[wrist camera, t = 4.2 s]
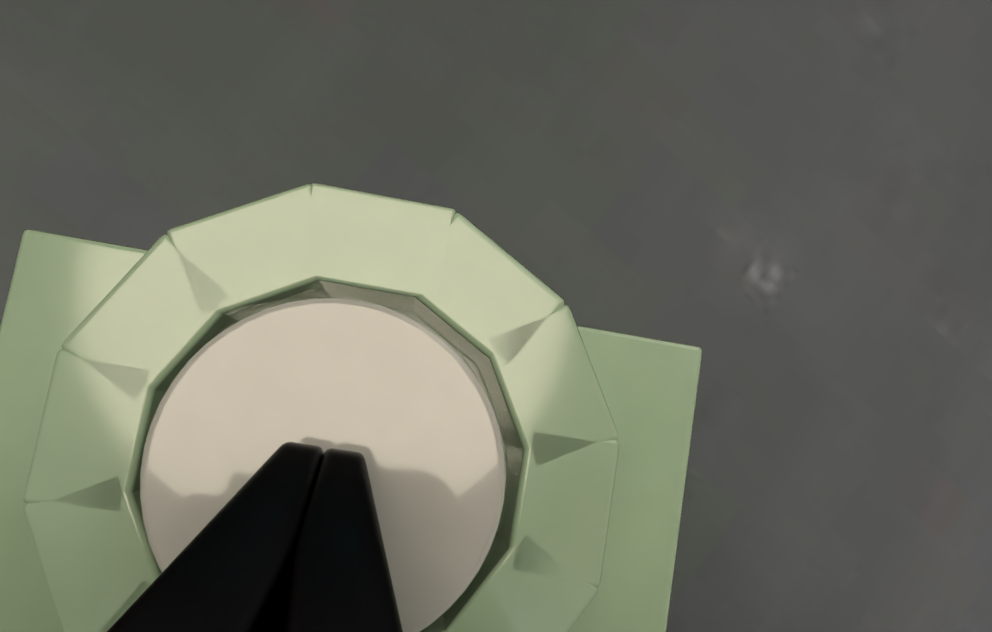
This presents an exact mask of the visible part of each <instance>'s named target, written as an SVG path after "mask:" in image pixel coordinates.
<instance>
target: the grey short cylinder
mask: <svg viewBox="0 0 992 632" xmlns="http://www.w3.org/2000/svg"><path fill="white" fill-rule="evenodd" d="M286 442H297V443H303V444H310V445H316V446H319V447H321V448H322V449H323V451H324V452H325V451H326V450H327V449H329V448H335V449H342V450H348V451H354V452H359V453H361V454H363V456H364V458H365V460H366V464H367V469H368V474H369V478H370V483H371V487H372V492H373V497H374V501H375V506H376V510H377V515H378V520H379V524H380V529H381V533H382V538H383V543H384V547H385V552H386V556H387V561H388V566H389V570H390V575H391V579H392V584H393V588H394V593H395V598H396V602H397V607H398V611H399V616H400V621H401V625H402V630H403V632H421V631H422V630H424V629H425V628H427V627H428V626H430V625H431V624H432V623H433V622H435V621H436V620H437V619H438V618H439V617H440V616H441V615H443V614H444V613H445V612H446V611H447V610H448V609H449V608H450V607H451V606H452V605H453V604H454V603H455V602H456V601H457V600H458V598H459V597H460V596H461V595H462V594H463V593H464V592H465V591H466V589H467V588H468V586H469V585H470V583H471V582H472V580H473V579H474V578H475V576H476V575H477V573H478V572H479V570H480V568H481V566H482V564H483V562H484V561H485V559H486V557H487V555H488V553H489V551H490V549H491V546H492V543H493V541H494V538H495V535H496V532H497V529H498V527H499V523H500V518H501V514H502V509H503V505H504V496H505V485H506V465H505V452H504V446H503V440H502V434H501V431H500V427H499V424H498V421H497V417H496V414H495V411H494V409H493V407H492V404H491V402H490V400H489V398H488V395H487V393H486V391H485V389H484V388H483V386H482V384H481V383H480V381H479V380H478V378H477V376H476V375H475V373H474V371H473V370H472V369H471V368H470V366H469V365H468V364H467V363H466V362H465V360H464V359H463V358H462V357H461V355H460V354H459V353H458V352H457V351H456V350H455V349H454V348H453V347H451V346H450V345H449V344H448V343H447V342H446V341H445V340H444V339H443V338H442V337H440V336H439V335H438V334H436V333H435V332H434V331H432V330H431V329H429V328H428V327H427V326H425V325H424V324H422V323H420V322H418V321H416V320H415V319H413V318H411V317H409V316H407V315H405V314H403V313H401V312H398V311H395V310H393V309H390V308H388V307H385V306H382V305H378V304H374V303H370V302H366V301H362V300H355V299H345V298H310V299H304V300H297V301H290V302H287V303H283V304H279V305H276V306H272V307H269V308H266V309H264V310H261V311H259V312H256V313H254V314H252V315H249V316H247V317H245V318H243V319H241V320H240V321H238V322H236V323H235V324H233V325H231V326H229V327H228V328H226V329H224V330H223V331H222V332H220V333H219V334H218V335H216V336H215V337H214V338H212V339H211V340H210V341H209V342H207V343H206V344H205V345H204V346H203V347H202V348H201V349H200V350H199V351H198V352H197V353H196V354H195V355H194V356H193V357H192V358H191V359H190V360H189V361H188V362H187V363H186V364H185V365H184V367H183V368H182V369H181V371H180V372H179V373H178V374H177V376H176V377H175V378H174V380H173V381H172V383H171V384H170V386H169V388H168V389H167V391H166V393H165V394H164V396H163V398H162V399H161V401H160V403H159V406H158V408H157V410H156V413H155V415H154V417H153V419H152V422H151V424H150V428H149V431H148V435H147V438H146V442H145V445H144V450H143V457H142V464H141V470H140V501H141V509H142V517H143V523H144V526H145V530H146V534H147V538H148V541H149V545H150V547H151V550H152V552H153V554H154V557H155V559H156V562H157V564H158V566H159V568H160V570H161V572H163V571H164V570H165V569H166V568H167V567H168V566H169V564H170V563H171V562H172V561H173V560H174V559H175V558H176V557H177V556H178V555H179V554H180V553H181V552H182V551H183V549H184V548H185V547H186V546H187V545H188V544H189V543H190V542H191V541H192V540H193V539H194V538H195V537H196V536H197V535H198V533H199V532H200V531H201V530H202V529H203V528H204V527H205V526H206V525H207V524H208V523H209V522H210V521H211V520H212V518H213V517H214V516H215V515H216V514H217V513H218V512H219V511H220V510H221V509H222V508H223V507H224V506H225V505H226V504H227V502H228V501H229V500H230V499H231V498H232V497H233V496H234V495H235V494H236V493H237V492H238V491H239V490H240V489H241V487H242V486H243V485H244V484H245V483H246V482H247V481H248V480H249V479H250V478H251V477H252V476H253V475H254V474H255V473H256V471H257V470H258V469H259V468H260V467H261V466H262V465H263V464H264V463H265V462H266V461H267V460H268V459H269V458H270V456H271V455H272V454H273V453H274V452H275V451H276V450H277V449H278V448H279V447H280V446H281V445H282V444H284V443H286Z"/></svg>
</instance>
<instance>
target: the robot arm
mask: <svg viewBox="0 0 992 632" xmlns="http://www.w3.org/2000/svg"><path fill="white" fill-rule="evenodd" d="M107 632H403V630H402V625H401V621H400V616H399V611H398V607H397V602H396V598H395V593H394V588H393V584H392V579H391V575H390V570H389V566H388V561H387V556H386V552H385V547H384V543H383V538H382V533H381V529H380V524H379V520H378V515H377V510H376V506H375V501H374V497H373V492H372V487H371V483H370V478H369V474H368V469H367V464H366V460H365V458H364V456H363V454H361V453H359V452H354V451H348V450H342V449H335V448H329V449H327V450H326V451H325V452H324V451H323V449H322V448H321V447H319V446H316V445H310V444H303V443H297V442H286V443H284V444H282V445H281V446H280V447H279V448H278V449H277V450H276V451H275V452H274V453H273V454H272V455H271V456H270V458H269V459H268V460H267V461H266V462H265V463H264V464H263V465H262V466H261V467H260V468H259V469H258V470H257V471H256V473H255V474H254V475H253V476H252V477H251V478H250V479H249V480H248V481H247V482H246V483H245V484H244V485H243V486H242V487H241V489H240V490H239V491H238V492H237V493H236V494H235V495H234V496H233V497H232V498H231V499H230V500H229V501H228V502H227V504H226V505H225V506H224V507H223V508H222V509H221V510H220V511H219V512H218V513H217V514H216V515H215V516H214V517H213V518H212V520H211V521H210V522H209V523H208V524H207V525H206V526H205V527H204V528H203V529H202V530H201V531H200V532H199V533H198V535H197V536H196V537H195V538H194V539H193V540H192V541H191V542H190V543H189V544H188V545H187V546H186V547H185V548H184V549H183V551H182V552H181V553H180V554H179V555H178V556H177V557H176V558H175V559H174V560H173V561H172V562H171V563H170V564H169V566H168V567H167V568H166V569H165V570H164V571H163V572H162V573H161V574H160V575H159V576H158V577H157V578H156V579H155V580H154V582H153V583H152V584H151V585H150V586H149V587H148V588H147V589H146V590H145V591H144V592H143V593H142V594H141V595H140V597H139V598H138V599H137V600H136V601H135V602H134V603H133V604H132V605H131V606H130V607H129V608H128V609H127V610H126V611H125V613H124V614H123V615H122V616H121V617H120V618H119V619H118V620H117V621H116V622H115V623H114V624H113V625H112V626H111V628H110V629H109V630H108V631H107Z"/></svg>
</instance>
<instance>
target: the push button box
mask: <svg viewBox="0 0 992 632" xmlns="http://www.w3.org/2000/svg"><path fill="white" fill-rule="evenodd" d="M310 298H345V299H355V300H362V301H366V302H370V303H374V304H378V305H382V306H385V307H388V308H390V309H393V310H395V311H398V312H401V313H403V314H405V315H407V316H409V317H411V318H413V319H415V320H416V321H418V322H420V323H422V324H424V325H425V326H427V327H428V328H429V329H431V330H432V331H434V332H435V333H436V334H438V335H439V336H440V337H442V338H443V339H444V340H445V341H446V342H447V343H448V344H449V345H450V346H451V347H453V348H454V349H455V350H456V351H457V352H458V353H459V354H460V355H461V357H462V358H463V359H464V360H465V362H466V363H467V364H468V365H469V366H470V368H471V369H472V370H473V371H474V373H475V375H476V376H477V378H478V380H479V381H480V383H481V384H482V386H483V388H484V389H485V391H486V393H487V395H488V398H489V400H490V402H491V404H492V407H493V409H494V411H495V414H496V417H497V421H498V424H499V427H500V431H501V434H502V440H503V446H504V452H505V465H506V485H505V496H504V505H503V509H502V514H501V518H500V523H499V527H498V529H497V532H496V535H495V538H494V541H493V543H492V546H491V549H490V551H489V553H488V555H487V557H486V559H485V561H484V562H483V564H482V566H481V568H480V570H479V572H478V573H477V575H476V576H475V578H474V579H473V580H472V582H471V583H470V585H469V586H468V588H467V589H466V591H465V592H464V593H463V594H462V595H461V596H460V597H459V598H458V600H457V601H456V602H455V603H454V604H453V605H452V606H451V607H450V608H449V609H448V610H447V611H446V612H445V613H444V614H443V615H441V616H440V617H439V618H438V619H437V620H436V621H435V622H433V623H432V624H431V625H430V626H428V627H427V628H425V629H424V630H422V631H421V632H666V628H667V620H668V612H669V604H670V597H671V589H672V581H673V574H674V566H675V558H676V550H677V543H678V535H679V527H680V519H681V512H682V504H683V496H684V488H685V481H686V473H687V465H688V457H689V450H690V442H691V434H692V427H693V419H694V411H695V403H696V396H697V388H698V380H699V372H700V365H701V357H702V350H701V348H699V347H698V346H692V345H687V344H681V343H675V342H669V341H664V340H658V339H652V338H647V337H641V336H635V335H630V334H624V333H618V332H612V331H607V330H601V329H595V328H590V327H584V326H578V325H576V322H575V319H574V317H573V314H572V312H571V309H570V308H569V307H568V306H567V305H564V304H565V302H564V300H563V298H562V297H561V296H559V295H558V294H557V293H556V292H554V291H553V290H552V289H551V288H550V287H548V286H547V285H546V284H545V283H544V282H542V281H541V280H540V279H539V278H538V277H536V276H535V275H534V274H533V273H532V272H530V271H529V270H528V269H527V268H526V267H524V266H523V265H522V264H521V263H520V262H518V261H517V260H516V259H515V258H514V257H512V256H511V255H510V254H509V253H508V252H506V251H505V250H504V249H503V248H501V247H500V246H499V245H498V244H497V243H495V242H494V241H493V240H492V239H491V238H489V237H488V236H487V235H486V234H485V233H483V232H482V231H481V230H480V229H479V228H477V227H476V226H475V225H474V224H473V223H471V222H470V221H469V220H468V219H467V218H465V217H464V216H463V215H461V214H458V213H456V212H455V210H454V209H452V208H447V207H442V206H436V205H431V204H425V203H420V202H415V201H409V200H404V199H398V198H393V197H388V196H382V195H377V194H372V193H366V192H361V191H355V190H350V189H345V188H339V187H334V186H329V185H323V184H318V183H312V184H311V185H310V184H305V185H302V186H299V187H296V188H293V189H290V190H287V191H284V192H281V193H278V194H275V195H272V196H269V197H266V198H263V199H260V200H257V201H254V202H251V203H248V204H245V205H242V206H239V207H236V208H233V209H229V210H226V211H223V212H220V213H217V214H214V215H211V216H208V217H205V218H202V219H199V220H196V221H193V222H190V223H187V224H184V225H181V226H178V227H175V228H172V229H170V230H169V231H167V234H165V235H163V236H161V237H160V238H159V239H158V240H157V241H156V242H155V244H154V245H153V246H152V247H151V248H150V249H149V250H145V249H139V248H134V247H128V246H122V245H117V244H111V243H105V242H99V241H94V240H88V239H82V238H77V237H71V236H65V235H60V234H54V233H48V232H42V231H37V230H31V229H30V230H25V231H24V233H23V236H22V240H21V244H20V248H19V252H18V256H17V260H16V264H15V269H14V273H13V277H12V281H11V285H10V289H9V293H8V297H7V302H6V306H5V310H4V314H3V318H2V322H1V326H0V632H107V631H108V630H109V629H110V628H111V626H112V625H113V624H114V623H115V622H116V621H117V620H118V619H119V618H120V617H121V616H122V615H123V614H124V613H125V611H126V610H127V609H128V608H129V607H130V606H131V605H132V604H133V603H134V602H135V601H136V600H137V599H138V598H139V597H140V595H141V594H142V593H143V592H144V591H145V590H146V589H147V588H148V587H149V586H150V585H151V584H152V583H153V582H154V580H155V579H156V578H157V577H158V576H159V575H160V574H161V573H162V572H161V570H160V568H159V566H158V564H157V562H156V559H155V557H154V554H153V552H152V550H151V547H150V545H149V541H148V538H147V534H146V530H145V526H144V523H143V517H142V509H141V501H140V470H141V464H142V457H143V450H144V445H145V442H146V438H147V435H148V431H149V428H150V424H151V422H152V419H153V417H154V415H155V413H156V410H157V408H158V406H159V403H160V401H161V399H162V398H163V396H164V394H165V393H166V391H167V389H168V388H169V386H170V384H171V383H172V381H173V380H174V378H175V377H176V376H177V374H178V373H179V372H180V371H181V369H182V368H183V367H184V365H185V364H186V363H187V362H188V361H189V360H190V359H191V358H192V357H193V356H194V355H195V354H196V353H197V352H198V351H199V350H200V349H201V348H202V347H203V346H204V345H205V344H206V343H207V342H209V341H210V340H211V339H212V338H214V337H215V336H216V335H218V334H219V333H220V332H222V331H223V330H224V329H226V328H228V327H229V326H231V325H233V324H235V323H236V322H238V321H240V320H241V319H243V318H245V317H247V316H249V315H252V314H254V313H256V312H259V311H261V310H264V309H266V308H269V307H272V306H276V305H279V304H283V303H287V302H290V301H297V300H304V299H310Z"/></svg>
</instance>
